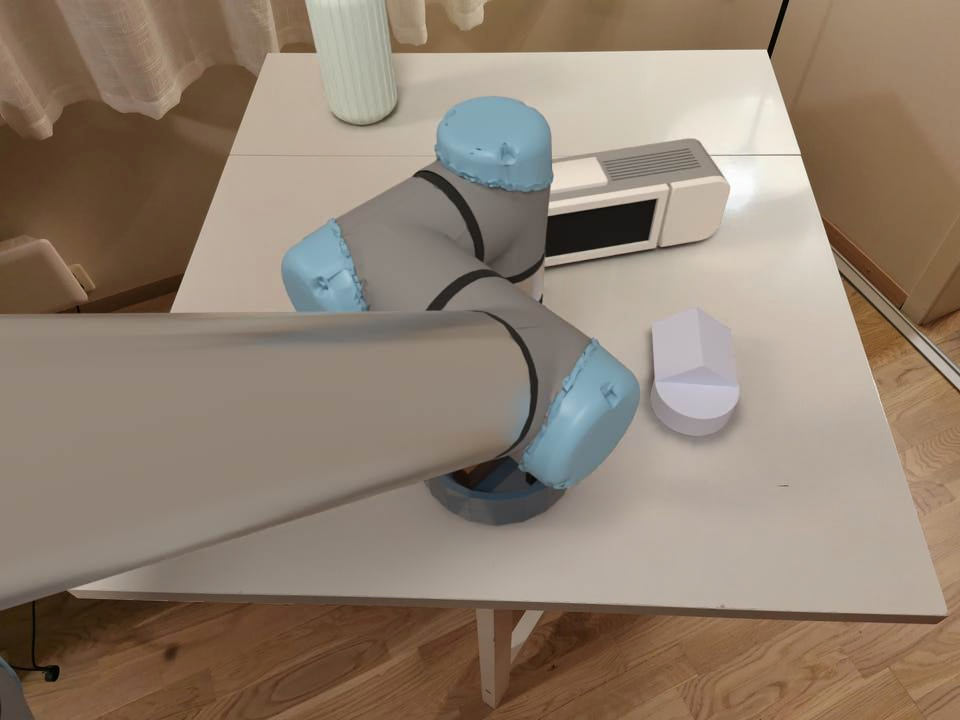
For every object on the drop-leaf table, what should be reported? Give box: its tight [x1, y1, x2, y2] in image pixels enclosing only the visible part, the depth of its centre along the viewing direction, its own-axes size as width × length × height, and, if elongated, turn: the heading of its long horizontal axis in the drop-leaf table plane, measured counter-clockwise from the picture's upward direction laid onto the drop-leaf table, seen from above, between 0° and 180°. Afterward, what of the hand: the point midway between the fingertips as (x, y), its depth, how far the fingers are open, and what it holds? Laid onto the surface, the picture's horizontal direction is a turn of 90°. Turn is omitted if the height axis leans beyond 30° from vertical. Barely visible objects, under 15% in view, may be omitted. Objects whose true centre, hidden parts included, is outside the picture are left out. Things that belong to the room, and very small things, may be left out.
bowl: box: [424, 457, 568, 527], centre depth 74 cm, size 17×17×6 cm
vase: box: [304, 0, 398, 126], centre depth 109 cm, size 12×12×22 cm
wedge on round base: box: [649, 306, 740, 437], centre depth 78 cm, size 9×7×13 cm
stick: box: [452, 456, 510, 490], centre depth 74 cm, size 11×3×4 cm, turn 134°
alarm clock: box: [544, 137, 731, 268], centre depth 92 cm, size 27×9×12 cm, turn 102°
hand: (496, 440), depth 73 cm, fingers open, 11 cm apart
